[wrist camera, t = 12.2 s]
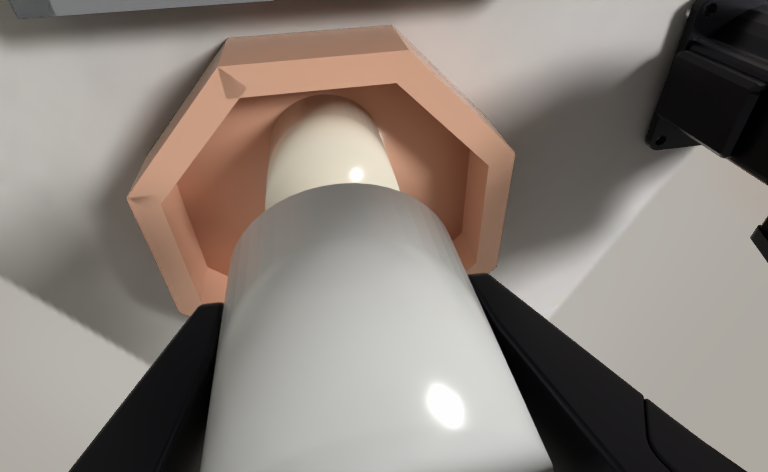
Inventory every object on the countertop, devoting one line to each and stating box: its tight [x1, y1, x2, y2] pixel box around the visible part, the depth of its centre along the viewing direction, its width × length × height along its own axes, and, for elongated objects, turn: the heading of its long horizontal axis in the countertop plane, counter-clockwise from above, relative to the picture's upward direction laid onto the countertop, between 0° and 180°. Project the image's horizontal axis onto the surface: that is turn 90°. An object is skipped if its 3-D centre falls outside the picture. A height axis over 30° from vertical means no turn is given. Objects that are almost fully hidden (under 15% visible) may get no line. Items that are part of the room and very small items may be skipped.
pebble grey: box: [200, 183, 554, 472], centre depth 7 cm, size 4×4×4 cm
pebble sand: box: [265, 94, 400, 211], centre depth 17 cm, size 4×4×4 cm
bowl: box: [126, 25, 515, 316], centre depth 19 cm, size 14×14×3 cm
